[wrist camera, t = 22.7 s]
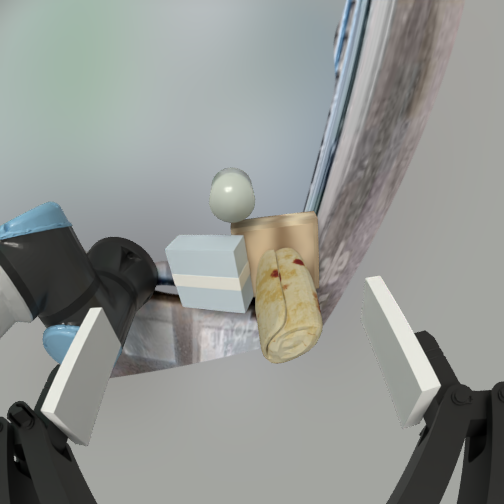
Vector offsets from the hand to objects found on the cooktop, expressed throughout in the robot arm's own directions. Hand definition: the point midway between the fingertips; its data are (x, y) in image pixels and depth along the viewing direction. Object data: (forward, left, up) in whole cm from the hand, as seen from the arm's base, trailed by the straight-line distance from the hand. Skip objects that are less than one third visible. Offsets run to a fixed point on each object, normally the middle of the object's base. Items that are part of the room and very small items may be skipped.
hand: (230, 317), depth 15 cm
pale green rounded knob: (-2, -5, -37) cm, 37 cm away
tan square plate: (+4, -18, -37) cm, 41 cm away
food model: (+4, -18, -34) cm, 39 cm away
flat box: (-7, -18, -35) cm, 40 cm away
